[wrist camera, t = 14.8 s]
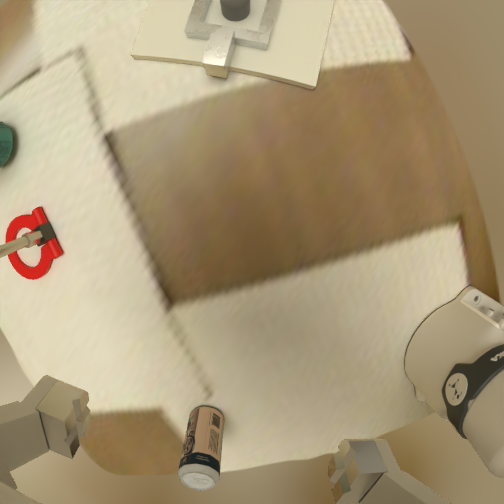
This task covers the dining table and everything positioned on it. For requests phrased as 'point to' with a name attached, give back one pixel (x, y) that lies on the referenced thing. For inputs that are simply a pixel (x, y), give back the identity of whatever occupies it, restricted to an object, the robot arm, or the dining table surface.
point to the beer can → (202, 449)
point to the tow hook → (31, 243)
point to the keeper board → (246, 17)
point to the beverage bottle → (5, 143)
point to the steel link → (227, 36)
